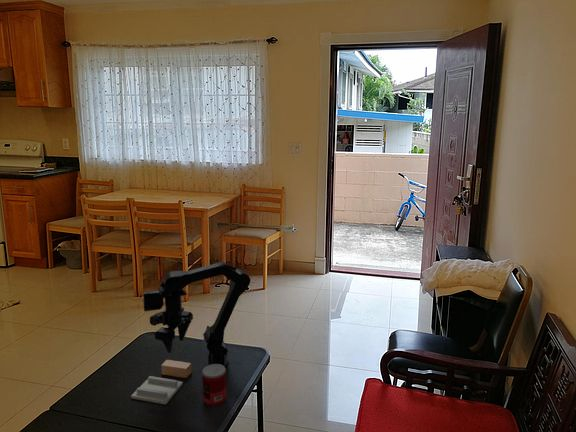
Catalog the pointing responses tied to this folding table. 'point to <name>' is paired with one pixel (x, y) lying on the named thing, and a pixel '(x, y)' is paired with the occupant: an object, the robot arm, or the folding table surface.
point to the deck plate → (157, 390)
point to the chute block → (176, 368)
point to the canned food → (214, 384)
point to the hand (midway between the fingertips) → (175, 346)
